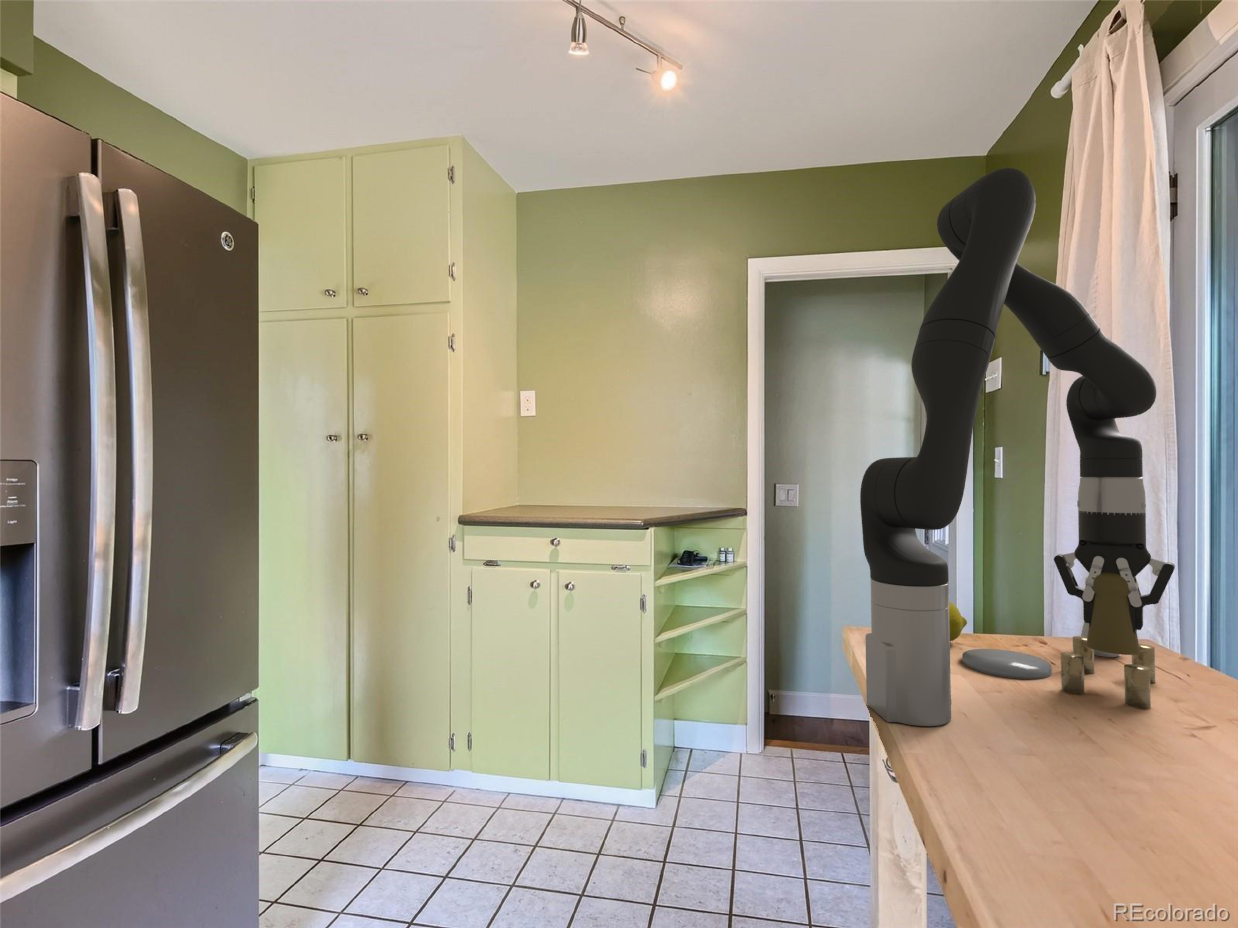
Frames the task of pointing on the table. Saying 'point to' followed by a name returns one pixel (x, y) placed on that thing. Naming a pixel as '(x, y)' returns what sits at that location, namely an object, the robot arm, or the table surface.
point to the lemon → (955, 622)
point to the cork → (1112, 617)
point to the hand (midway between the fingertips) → (1112, 628)
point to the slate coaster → (1007, 663)
